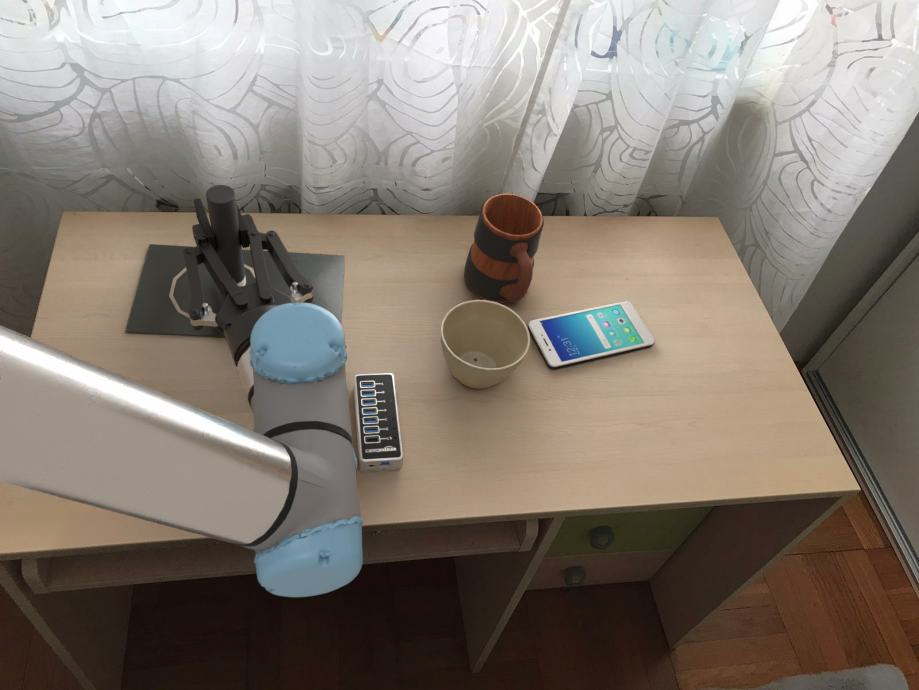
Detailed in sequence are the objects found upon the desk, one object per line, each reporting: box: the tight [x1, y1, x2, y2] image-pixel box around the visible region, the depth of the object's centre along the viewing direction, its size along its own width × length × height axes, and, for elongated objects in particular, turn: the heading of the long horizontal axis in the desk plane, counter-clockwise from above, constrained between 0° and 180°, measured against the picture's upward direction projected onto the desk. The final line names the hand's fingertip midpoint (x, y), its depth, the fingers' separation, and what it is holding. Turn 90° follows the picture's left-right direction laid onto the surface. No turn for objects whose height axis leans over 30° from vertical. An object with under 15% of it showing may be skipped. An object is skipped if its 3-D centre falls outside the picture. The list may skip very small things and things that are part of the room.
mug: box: [463, 193, 545, 304], centre depth 92 cm, size 9×12×12 cm
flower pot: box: [440, 299, 531, 390], centre depth 85 cm, size 10×10×7 cm
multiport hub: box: [353, 372, 404, 473], centre depth 80 cm, size 4×11×2 cm, turn 9°
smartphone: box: [527, 300, 655, 370], centre depth 93 cm, size 8×1×15 cm
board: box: [124, 243, 346, 338], centre depth 90 cm, size 24×14×1 cm, turn 93°
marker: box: [205, 184, 246, 286], centre depth 85 cm, size 3×3×14 cm
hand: (214, 205), depth 87 cm, fingers closed on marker, 3 cm apart
